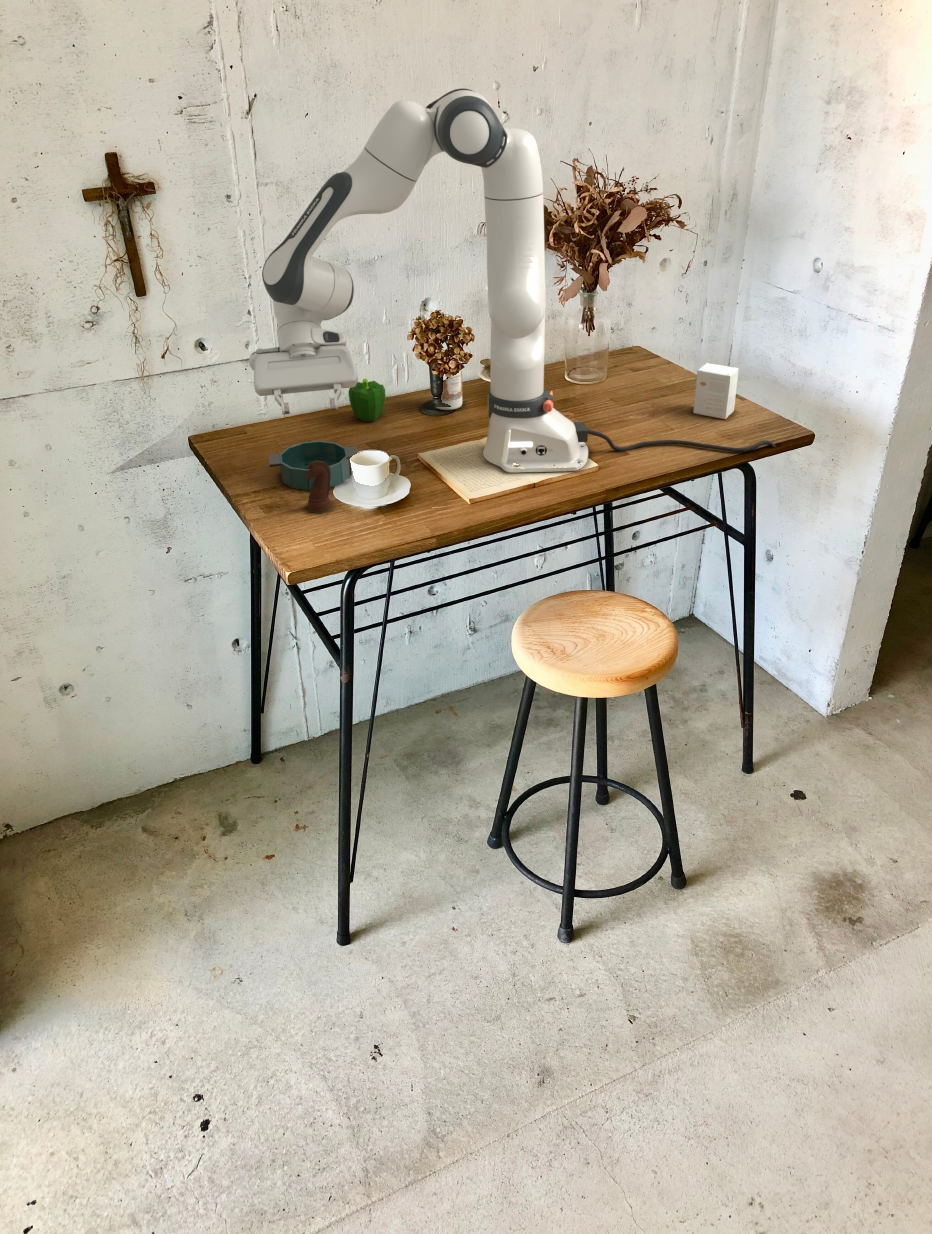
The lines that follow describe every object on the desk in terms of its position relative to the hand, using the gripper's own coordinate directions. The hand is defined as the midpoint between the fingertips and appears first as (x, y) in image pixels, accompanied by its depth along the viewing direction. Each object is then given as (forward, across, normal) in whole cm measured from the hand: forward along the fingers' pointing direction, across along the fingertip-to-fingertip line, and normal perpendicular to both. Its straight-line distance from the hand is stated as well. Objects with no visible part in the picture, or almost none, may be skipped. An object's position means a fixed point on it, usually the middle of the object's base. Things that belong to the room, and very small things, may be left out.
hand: (310, 410), depth 198 cm
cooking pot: (+7, 0, +16) cm, 18 cm away
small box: (0, +93, +24) cm, 96 cm away
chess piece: (+18, 0, +6) cm, 19 cm away
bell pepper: (-12, +14, +36) cm, 40 cm away
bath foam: (-14, +34, +38) cm, 53 cm away
